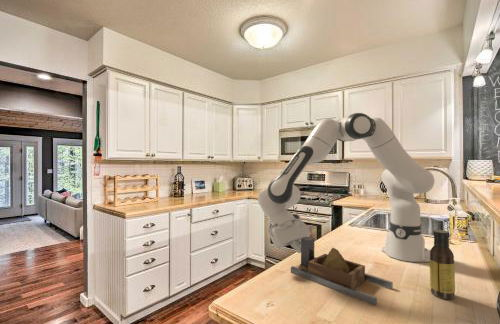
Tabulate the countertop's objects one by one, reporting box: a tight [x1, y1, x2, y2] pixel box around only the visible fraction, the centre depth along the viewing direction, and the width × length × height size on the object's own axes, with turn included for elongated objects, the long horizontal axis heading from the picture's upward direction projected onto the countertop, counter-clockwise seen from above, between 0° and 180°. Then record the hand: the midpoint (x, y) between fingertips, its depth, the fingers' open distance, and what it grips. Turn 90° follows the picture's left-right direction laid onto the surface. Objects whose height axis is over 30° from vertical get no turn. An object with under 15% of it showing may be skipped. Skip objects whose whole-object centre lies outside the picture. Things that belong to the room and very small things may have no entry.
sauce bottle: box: [429, 229, 456, 300], centre depth 80 cm, size 6×6×20 cm
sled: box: [298, 236, 366, 289], centre depth 93 cm, size 11×21×11 cm, turn 44°
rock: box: [322, 247, 350, 273], centre depth 91 cm, size 11×9×10 cm
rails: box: [290, 256, 394, 306], centre depth 90 cm, size 15×30×2 cm, turn 44°
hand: (302, 251), depth 101 cm, fingers closed
